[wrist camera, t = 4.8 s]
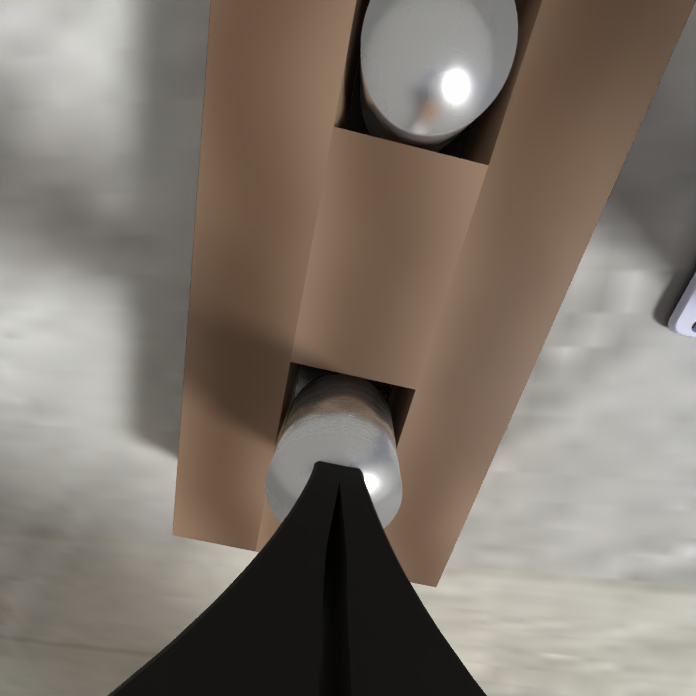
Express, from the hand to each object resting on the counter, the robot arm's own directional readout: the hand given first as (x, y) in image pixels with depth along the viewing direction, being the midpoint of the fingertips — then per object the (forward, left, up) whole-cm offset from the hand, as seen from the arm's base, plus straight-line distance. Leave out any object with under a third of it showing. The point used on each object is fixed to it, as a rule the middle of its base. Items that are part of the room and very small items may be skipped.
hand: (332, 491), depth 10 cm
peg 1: (0, 0, -4) cm, 4 cm away
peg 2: (0, -12, -7) cm, 14 cm away
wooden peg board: (0, -6, -7) cm, 9 cm away
